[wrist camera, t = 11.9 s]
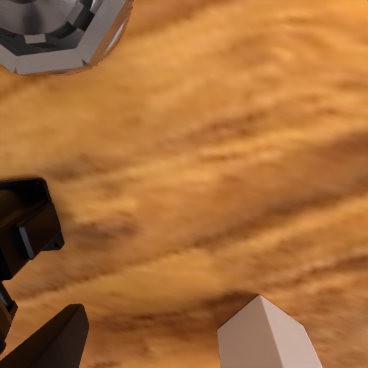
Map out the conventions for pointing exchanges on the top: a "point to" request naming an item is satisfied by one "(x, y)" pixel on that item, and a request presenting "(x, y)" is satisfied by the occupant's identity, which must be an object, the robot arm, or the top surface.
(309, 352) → the milk
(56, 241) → the robot arm
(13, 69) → the grey octagonal ring
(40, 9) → the grey cylinder with base
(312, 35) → the top surface
